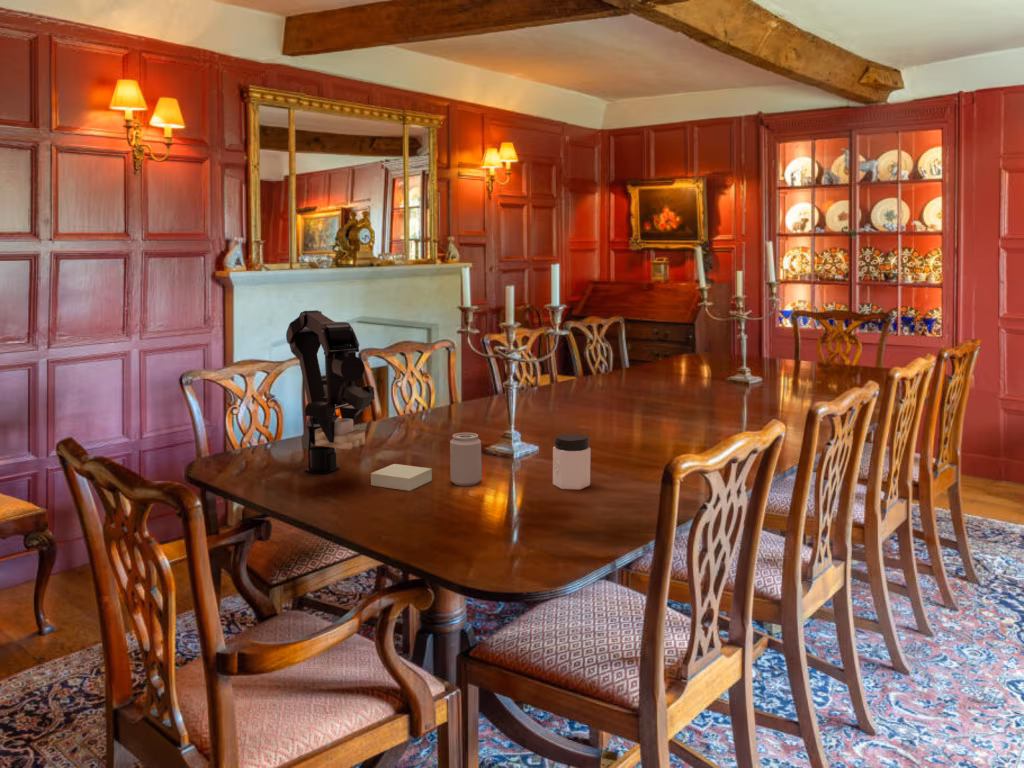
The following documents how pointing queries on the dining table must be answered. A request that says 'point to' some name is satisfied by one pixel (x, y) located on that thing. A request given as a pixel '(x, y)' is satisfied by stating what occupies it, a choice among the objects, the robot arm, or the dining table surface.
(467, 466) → the can
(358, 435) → the castle tower
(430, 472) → the dock
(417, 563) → the dining table surface
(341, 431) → the pale pink square block
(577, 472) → the jar
